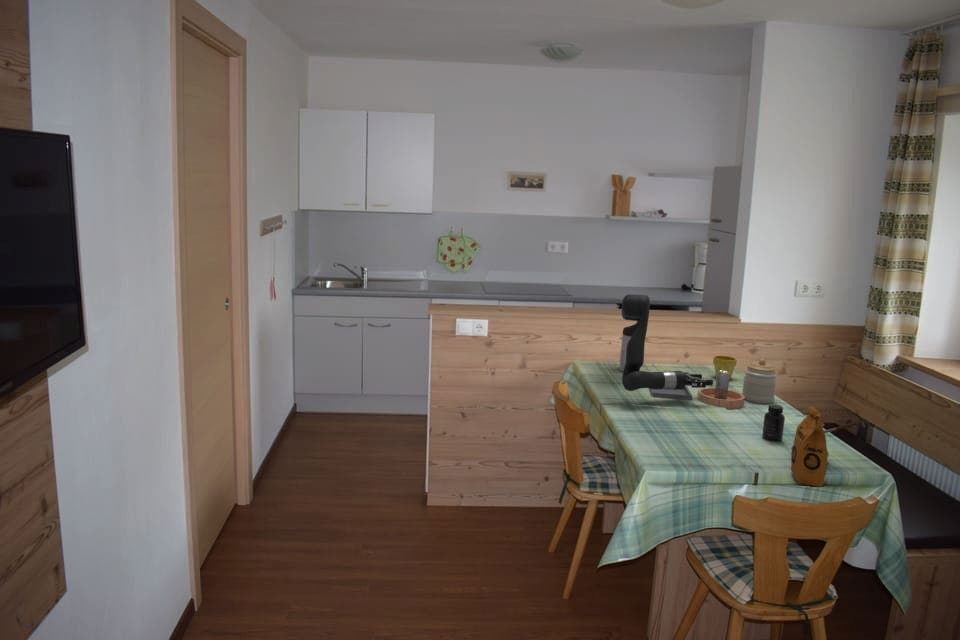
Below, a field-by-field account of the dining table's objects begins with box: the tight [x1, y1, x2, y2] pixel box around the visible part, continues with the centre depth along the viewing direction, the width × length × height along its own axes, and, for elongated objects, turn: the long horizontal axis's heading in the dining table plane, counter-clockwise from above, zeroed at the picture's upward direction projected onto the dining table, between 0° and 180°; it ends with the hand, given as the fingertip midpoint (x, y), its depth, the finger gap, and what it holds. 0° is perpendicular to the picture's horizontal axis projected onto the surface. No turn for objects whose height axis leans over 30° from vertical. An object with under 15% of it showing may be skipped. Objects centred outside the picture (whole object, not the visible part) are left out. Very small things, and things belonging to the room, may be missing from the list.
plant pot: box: [712, 354, 738, 381], centre depth 352 cm, size 10×10×10 cm
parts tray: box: [649, 385, 693, 401], centre depth 320 cm, size 16×16×2 cm
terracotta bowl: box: [696, 387, 746, 410], centre depth 313 cm, size 18×18×4 cm
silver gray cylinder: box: [714, 370, 730, 400], centre depth 312 cm, size 5×5×12 cm
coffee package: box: [790, 405, 829, 488], centre depth 233 cm, size 10×12×22 cm
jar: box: [741, 358, 778, 404], centre depth 319 cm, size 13×13×18 cm
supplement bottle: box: [761, 404, 786, 442], centre depth 271 cm, size 7×7×12 cm
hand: (706, 379), depth 310 cm, fingers open, 8 cm apart
